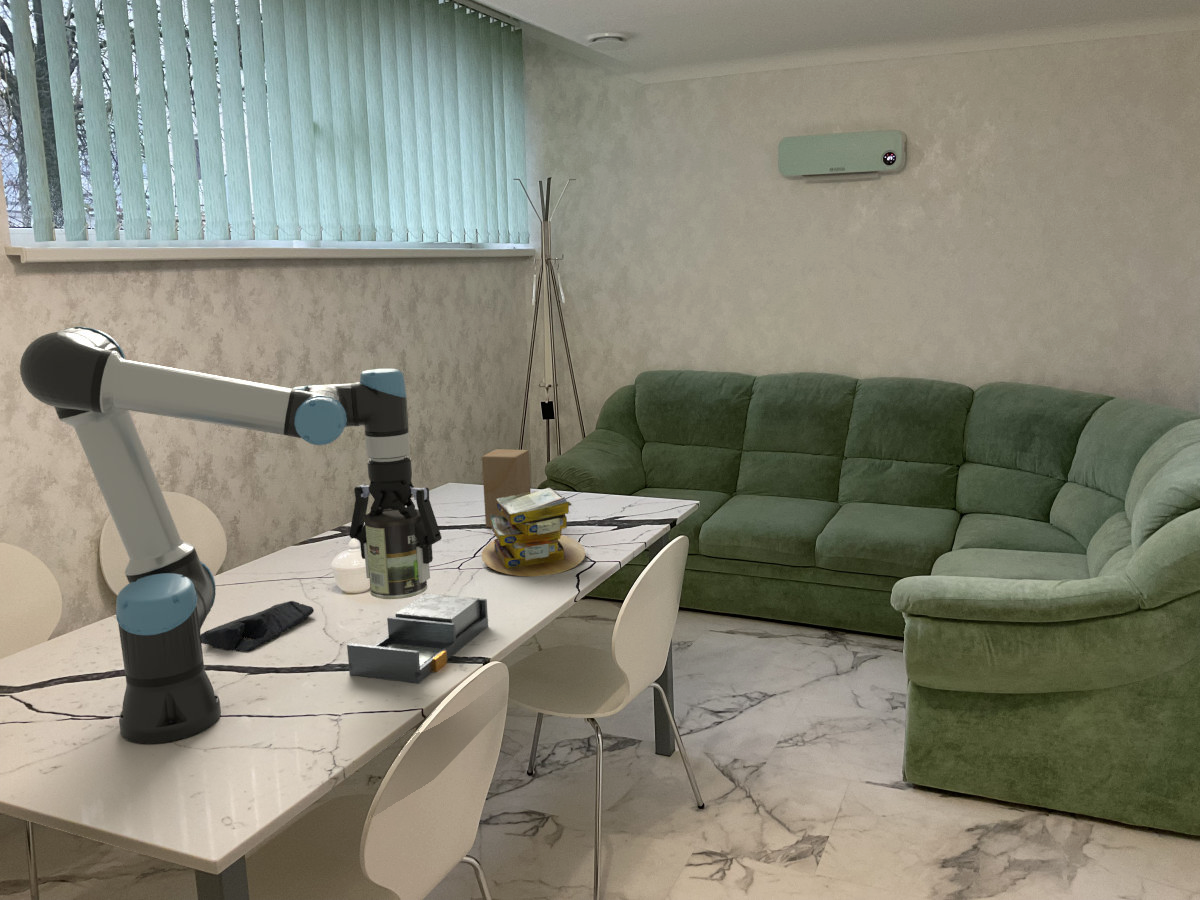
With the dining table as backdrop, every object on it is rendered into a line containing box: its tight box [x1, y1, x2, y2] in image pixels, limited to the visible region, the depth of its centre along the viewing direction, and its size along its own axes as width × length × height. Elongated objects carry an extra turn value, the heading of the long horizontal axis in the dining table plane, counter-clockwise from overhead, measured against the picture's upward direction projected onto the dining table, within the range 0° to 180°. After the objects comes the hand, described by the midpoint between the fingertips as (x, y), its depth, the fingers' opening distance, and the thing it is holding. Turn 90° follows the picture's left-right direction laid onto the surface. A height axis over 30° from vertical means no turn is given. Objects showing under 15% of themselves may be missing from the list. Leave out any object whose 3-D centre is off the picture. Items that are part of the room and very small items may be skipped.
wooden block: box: [481, 448, 532, 529], centre depth 274 cm, size 10×10×20 cm
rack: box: [346, 592, 489, 684], centre depth 189 cm, size 28×15×6 cm, turn 161°
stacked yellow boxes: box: [481, 487, 586, 577], centre depth 241 cm, size 25×25×17 cm
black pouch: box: [200, 600, 315, 652], centre depth 203 cm, size 15×22×5 cm
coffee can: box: [364, 508, 428, 600], centre depth 180 cm, size 10×10×14 cm
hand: (398, 578), depth 181 cm, fingers closed on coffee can, 10 cm apart
